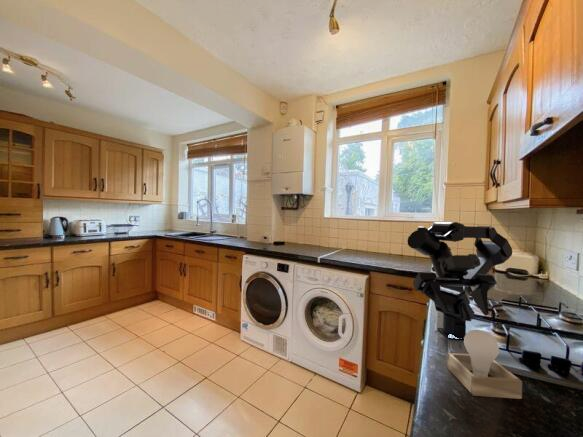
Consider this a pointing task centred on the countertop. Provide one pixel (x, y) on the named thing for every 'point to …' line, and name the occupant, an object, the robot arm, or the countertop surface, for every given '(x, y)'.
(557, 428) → the countertop surface
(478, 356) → the lightbulb
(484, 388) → the tray
